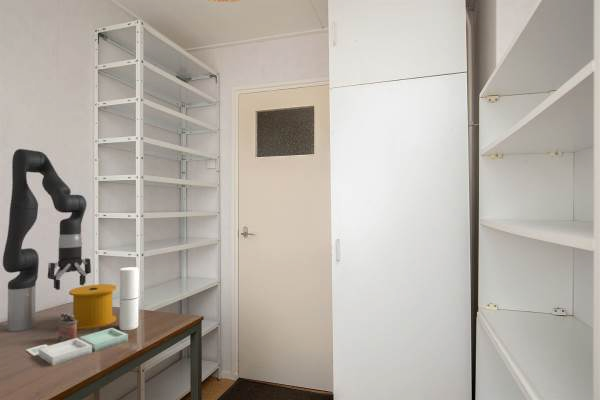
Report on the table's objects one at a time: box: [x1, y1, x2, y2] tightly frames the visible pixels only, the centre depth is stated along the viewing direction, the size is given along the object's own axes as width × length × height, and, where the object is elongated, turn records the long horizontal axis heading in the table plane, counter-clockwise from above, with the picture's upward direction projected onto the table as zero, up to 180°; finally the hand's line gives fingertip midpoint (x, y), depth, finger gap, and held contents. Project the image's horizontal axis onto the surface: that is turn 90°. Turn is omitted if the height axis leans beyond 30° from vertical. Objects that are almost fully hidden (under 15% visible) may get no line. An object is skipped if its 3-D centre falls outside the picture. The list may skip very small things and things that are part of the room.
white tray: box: [38, 337, 93, 366], centre depth 122 cm, size 12×12×2 cm
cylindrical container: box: [119, 266, 140, 331], centre depth 148 cm, size 7×7×25 cm
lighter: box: [57, 312, 78, 342], centre depth 135 cm, size 8×3×10 cm, turn 71°
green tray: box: [79, 327, 129, 352], centre depth 132 cm, size 12×12×2 cm
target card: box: [25, 343, 49, 357], centre depth 125 cm, size 8×6×1 cm
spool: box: [68, 283, 117, 330], centre depth 154 cm, size 18×18×15 cm
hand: (69, 287), depth 135 cm, fingers open, 8 cm apart
